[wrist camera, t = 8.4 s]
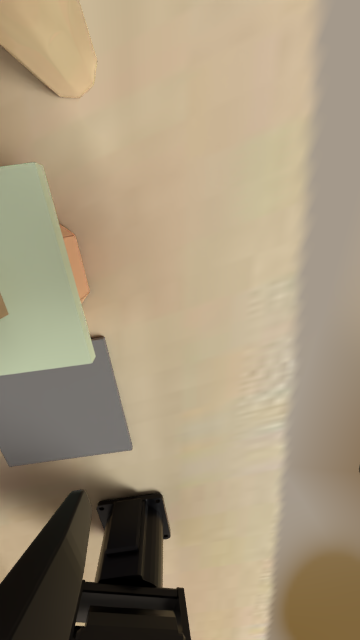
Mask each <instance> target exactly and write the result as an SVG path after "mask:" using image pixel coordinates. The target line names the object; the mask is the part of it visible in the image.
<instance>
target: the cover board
mask: <svg viewBox="0 0 360 640" xmlns="http://www.w3.org/2000/svg"><path fill="white" fill-rule="evenodd" d="M95 357H96V356H95V352H94V348H93V345H92V341H91V337H90V334H89V330H88V327H87V323H86V319H85V316H84V312H83V309H82V305H81V301H80V298H79V294H78V291H77V287H76V283H75V280H74V276H73V272H72V269H71V265H70V262H69V258H68V254H67V251H66V247H65V244H64V240H63V236H62V233H61V229H60V225H59V222H58V218H57V215H56V211H55V207H54V204H53V200H52V197H51V193H50V189H49V186H48V182H47V178H46V175H45V171H44V168H43V166H42V165H40V164H38V163H36V162H31V163H24V164H16V165H9V166H1V167H0V376H2V375H9V374H17V373H24V372H31V371H39V370H46V369H54V368H61V367H69V366H76V365H84V364H91V363H93V361H94V359H95Z"/></svg>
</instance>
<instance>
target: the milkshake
mask: <svg viewBox="0 0 360 640" xmlns="http://www.w3.org/2000/svg"><path fill="white" fill-rule="evenodd" d="M0 45H1V46H2V47H3V48H4V49H5V50H7V51H8V52H9V53H10V54H11V55H12V56H13V57H14V58H15V59H17V60H18V61H19V62H20V63H21V64H22V65H23V66H24V67H25V68H27V69H28V70H29V71H30V72H31V73H32V74H33V75H34V76H35V77H37V78H38V79H39V80H40V81H41V82H42V83H43V84H45V85H46V86H47V87H48V88H50V89H51V90H52V91H53V92H55V93H56V94H57V95H58V96H60V97H66V98H80V97H81V96H82V95H83V94H84V93H85V92H86V91H87V90H88V89H89V88H90V87H92V86H93V85H94V79H95V73H96V67H97V58H96V54H95V51H94V48H93V44H92V41H91V38H90V34H89V31H88V28H87V25H86V21H85V18H84V15H83V11H82V8H81V5H80V1H79V0H0Z"/></svg>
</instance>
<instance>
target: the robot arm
mask: <svg viewBox="0 0 360 640" xmlns="http://www.w3.org/2000/svg"><path fill="white" fill-rule="evenodd" d="M359 472H360V466H359ZM97 512H98V514H99V517H100V520H101V522H102V525H103V528H104V531H105V532H104V537H103V542H102V547H101V552H100V557H99V562H98V567H97V572H96V577H95V582H85V580H82V578H83V573H84V567H85V560H86V553H87V546H88V538H89V531H90V524H91V517H92V506H91V503H90V500H89V497H88V495H87V492H86V491H85V490H76V491H72V492H71V493H70V494H69V495H68V497H67V498H66V499H65V501H64V502H63V503H62V504H61V506H60V507H59V508H58V510H57V511H56V512H55V514H54V515H53V516H52V517H51V519H50V520H49V521H48V523H47V524H46V525H45V527H44V528H43V529H42V530H41V532H40V533H39V534H38V536H37V537H36V538H35V539H34V541H33V542H32V543H31V545H30V546H29V547H28V549H27V550H26V551H25V552H24V554H23V555H22V556H21V558H20V559H19V560H18V562H17V563H16V564H15V565H14V567H13V568H12V569H11V571H10V572H9V573H8V575H7V576H6V577H5V578H4V580H3V581H2V582H1V584H0V640H191V637H190V630H189V622H188V615H187V608H186V601H185V594H184V588H179V587H177V589H172V588H163V539H168V538H170V527H169V522H168V518H167V513H166V509H165V504H164V500H163V496H162V495H161V494H151V495H144V496H137V497H129V498H122V499H115V500H107V501H101V502H99V503H98V505H97ZM76 622H83V623H85V626H75V623H76Z"/></svg>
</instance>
